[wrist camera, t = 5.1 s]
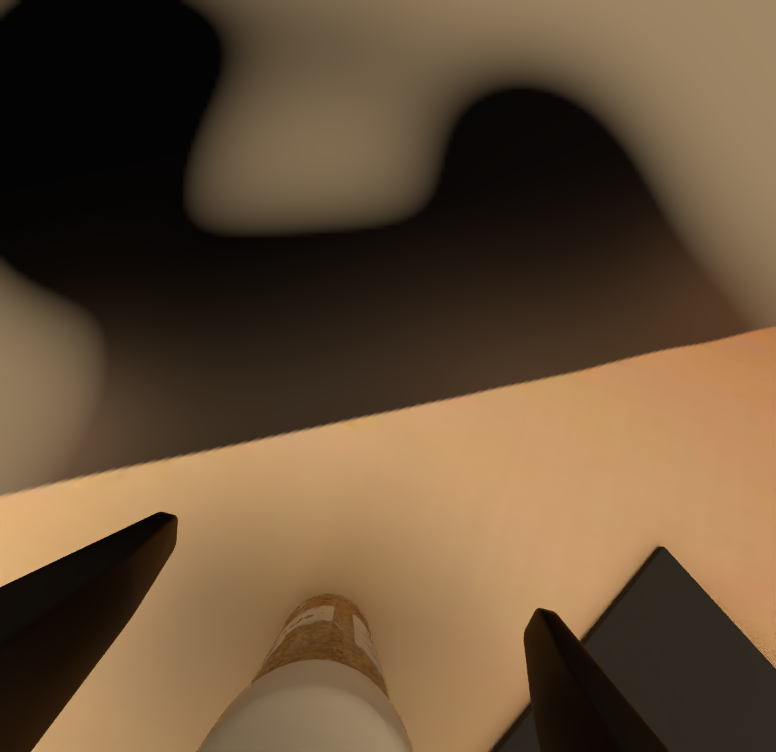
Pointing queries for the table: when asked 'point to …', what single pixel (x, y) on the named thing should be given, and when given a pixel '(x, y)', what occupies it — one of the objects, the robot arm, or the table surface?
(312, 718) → the sprinkles bottle
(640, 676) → the desk mat
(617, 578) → the table surface
